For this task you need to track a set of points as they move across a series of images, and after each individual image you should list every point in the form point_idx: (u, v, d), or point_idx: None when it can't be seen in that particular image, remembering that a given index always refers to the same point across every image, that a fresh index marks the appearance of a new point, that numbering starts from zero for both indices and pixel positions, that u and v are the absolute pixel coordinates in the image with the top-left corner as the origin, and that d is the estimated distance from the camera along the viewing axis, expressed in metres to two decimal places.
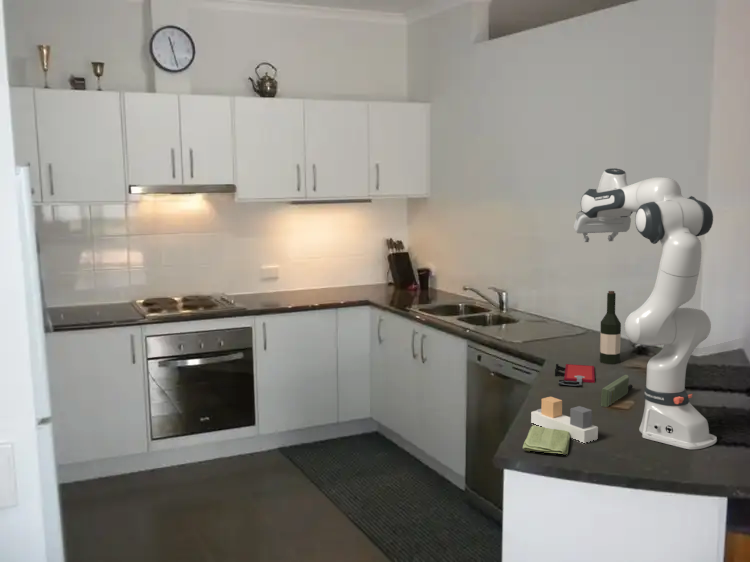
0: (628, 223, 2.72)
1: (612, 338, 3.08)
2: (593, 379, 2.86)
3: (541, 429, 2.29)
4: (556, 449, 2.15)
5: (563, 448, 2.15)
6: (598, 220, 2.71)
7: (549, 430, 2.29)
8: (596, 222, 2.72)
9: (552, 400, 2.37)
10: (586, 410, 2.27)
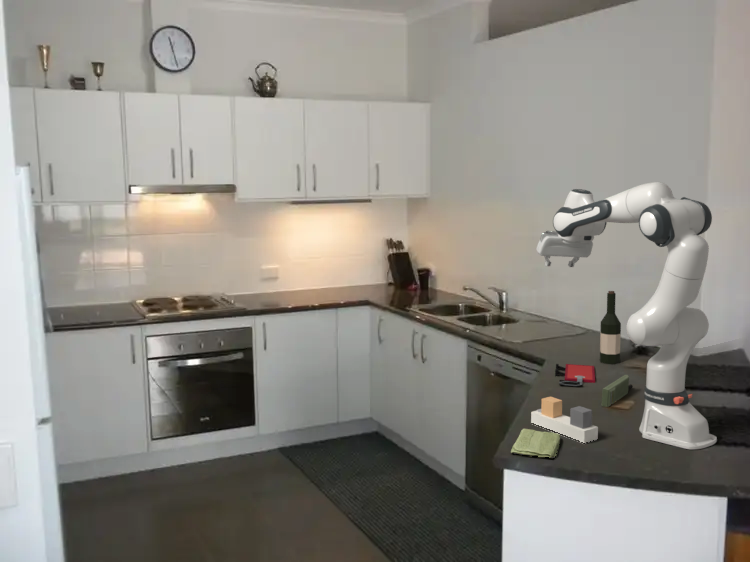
0: (590, 248, 2.69)
1: (612, 338, 3.08)
2: (593, 379, 2.86)
3: (531, 432, 2.27)
4: (544, 452, 2.14)
5: (551, 451, 2.14)
6: (562, 242, 2.65)
7: (539, 433, 2.27)
8: (559, 244, 2.66)
9: (552, 400, 2.37)
10: (586, 410, 2.27)
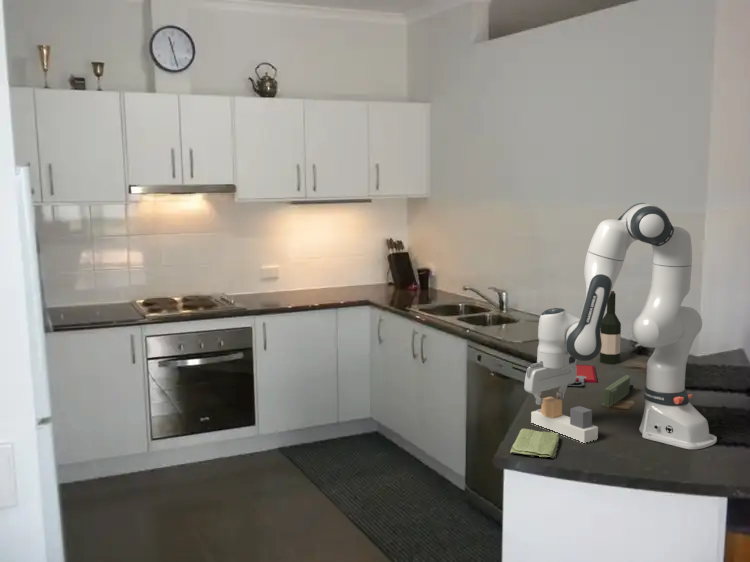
0: (575, 371, 2.39)
1: (612, 338, 3.08)
2: (595, 379, 2.86)
3: (530, 432, 2.28)
4: (543, 452, 2.14)
5: (550, 451, 2.14)
6: (549, 373, 2.33)
7: (538, 433, 2.27)
8: (547, 376, 2.33)
9: (552, 400, 2.37)
10: (586, 410, 2.27)
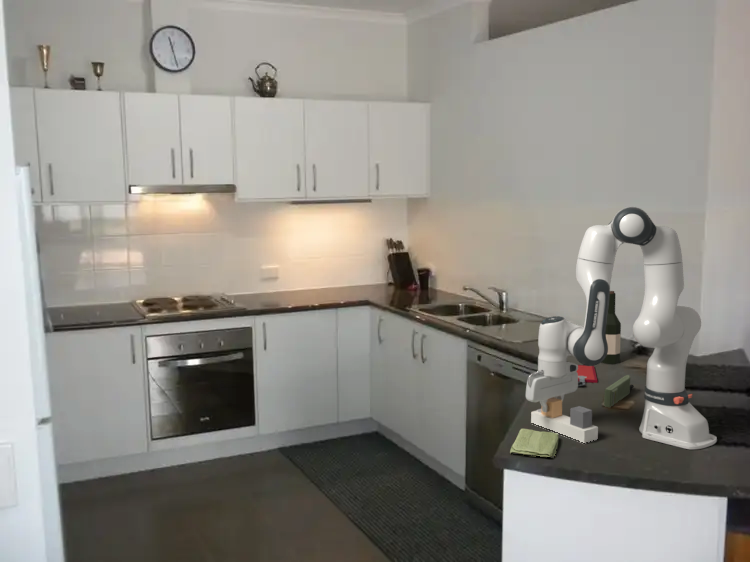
0: (576, 379, 2.40)
1: (612, 338, 3.08)
2: (595, 379, 2.86)
3: (529, 432, 2.28)
4: (543, 452, 2.14)
5: (550, 451, 2.14)
6: (550, 381, 2.34)
7: (537, 433, 2.27)
8: (548, 384, 2.34)
9: (552, 400, 2.37)
10: (586, 410, 2.27)
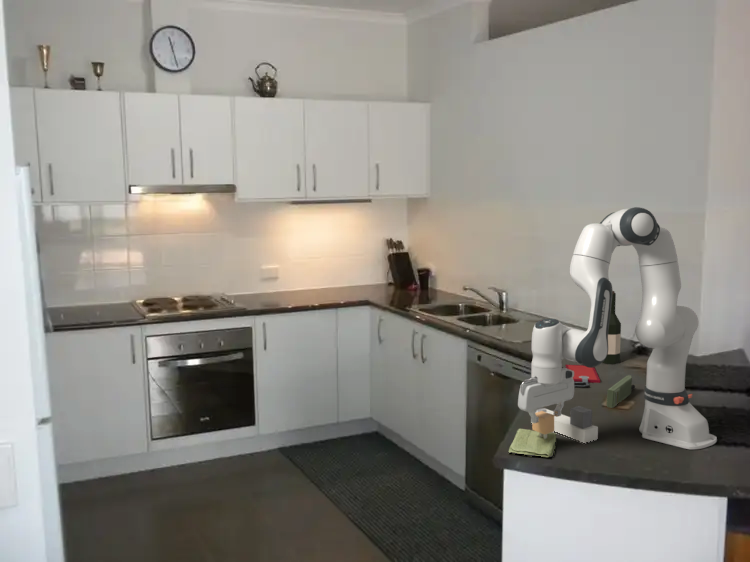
0: (572, 386, 2.24)
1: (612, 338, 3.08)
2: (598, 379, 2.86)
3: (527, 432, 2.28)
4: (541, 452, 2.14)
5: (549, 451, 2.14)
6: (544, 389, 2.18)
7: (535, 433, 2.28)
8: (542, 392, 2.18)
9: (543, 415, 2.22)
10: (586, 410, 2.27)
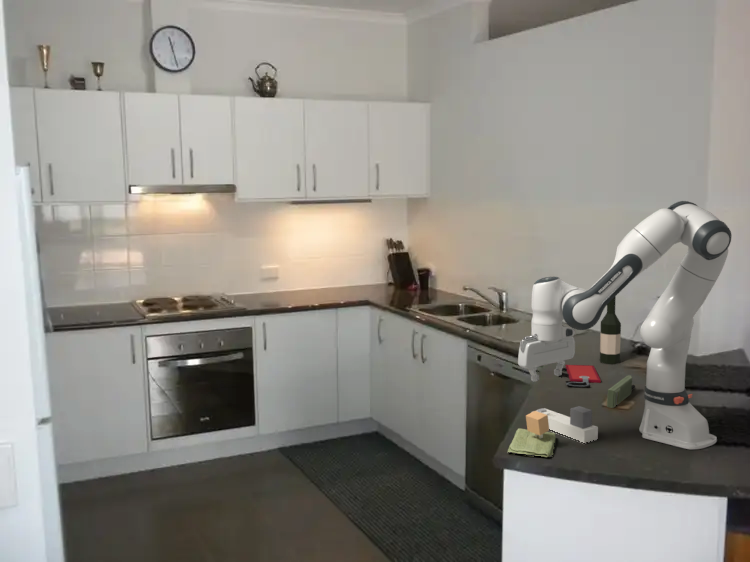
0: (573, 345, 2.22)
1: (612, 338, 3.08)
2: (599, 379, 2.86)
3: (526, 432, 2.28)
4: (540, 452, 2.14)
5: (548, 451, 2.14)
6: (544, 346, 2.16)
7: (534, 433, 2.28)
8: (542, 349, 2.16)
9: (537, 416, 2.21)
10: (586, 410, 2.27)
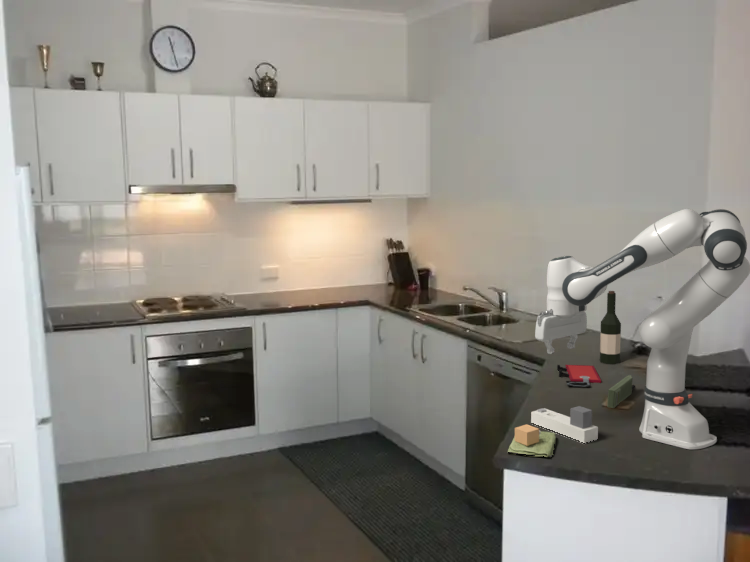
0: (585, 320, 2.38)
1: (612, 338, 3.08)
2: (599, 379, 2.86)
3: None
4: (540, 452, 2.15)
5: (548, 451, 2.15)
6: (559, 321, 2.32)
7: None
8: (557, 324, 2.31)
9: (522, 439, 2.18)
10: (586, 410, 2.27)
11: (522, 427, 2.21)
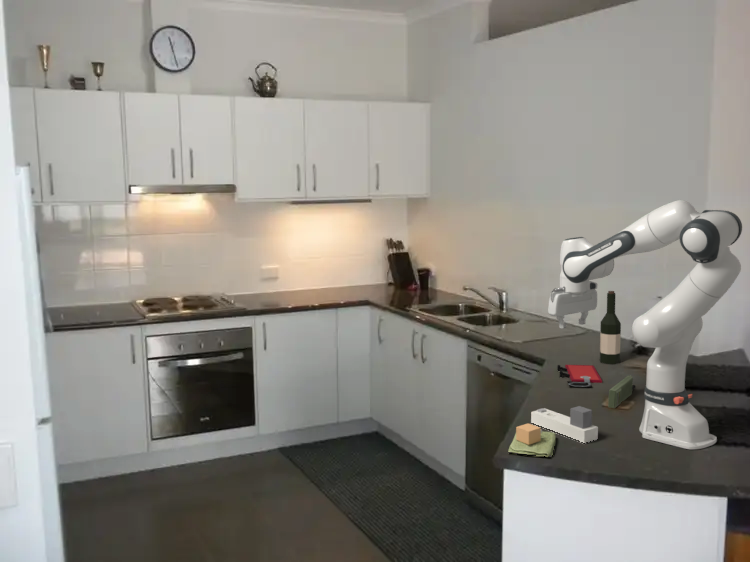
0: (596, 298, 2.53)
1: (612, 338, 3.08)
2: (600, 379, 2.86)
3: None
4: (541, 452, 2.15)
5: (548, 450, 2.15)
6: (571, 297, 2.47)
7: None
8: (569, 300, 2.46)
9: (524, 438, 2.19)
10: (586, 410, 2.27)
11: (524, 426, 2.22)
